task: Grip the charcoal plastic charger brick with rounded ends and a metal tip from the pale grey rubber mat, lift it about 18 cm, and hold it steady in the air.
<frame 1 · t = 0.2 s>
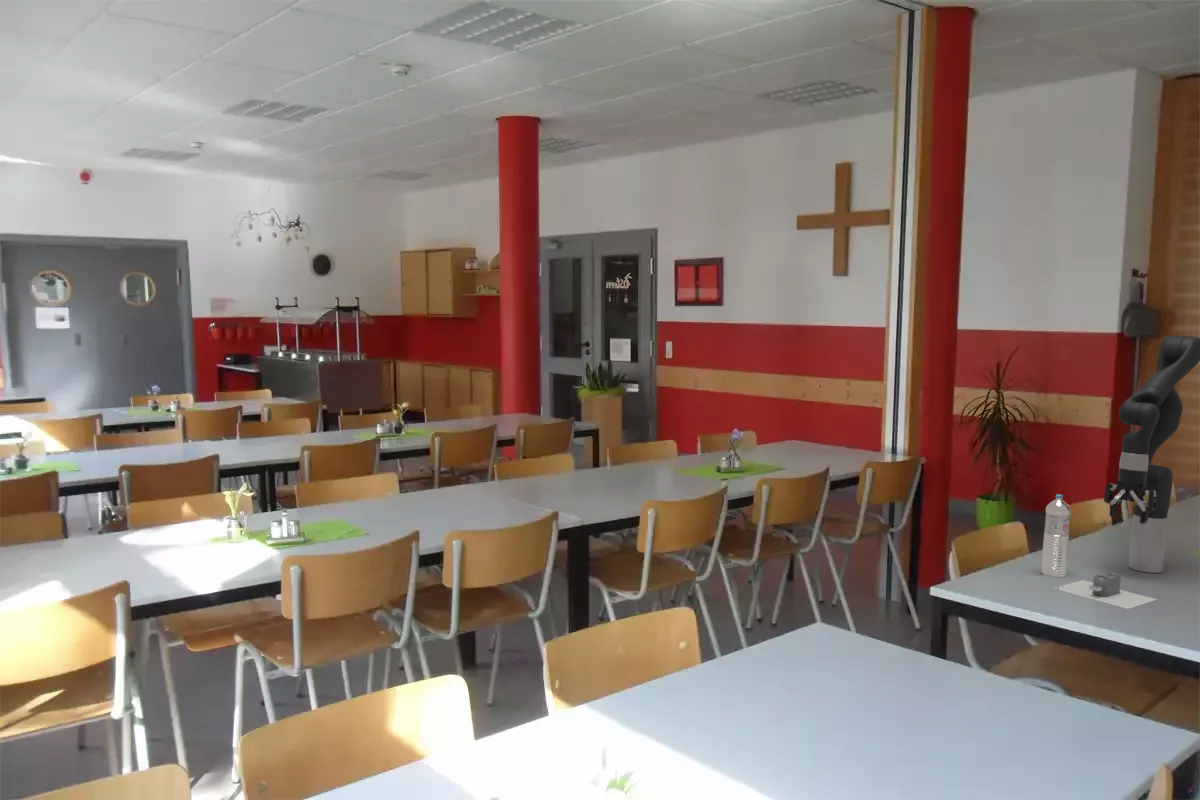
hand: (1127, 520, 280), 17 cm above the table, tool pointing down, fingers open, 8 cm apart
rubber mat: (1104, 595, 261), on the table
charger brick: (1106, 593, 262), point 1 cm above the table, touching rubber mat
water bottle: (1053, 576, 281), on the table
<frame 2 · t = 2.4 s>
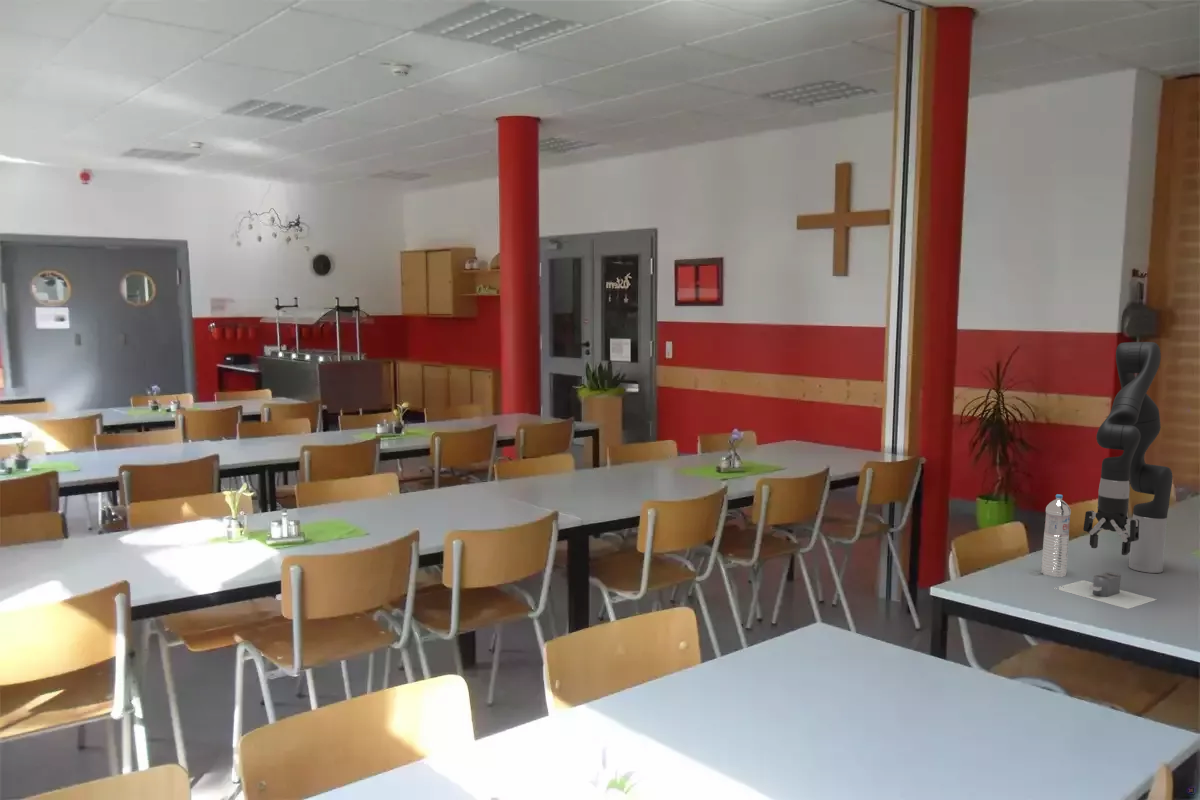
hand: (1109, 551, 260), 13 cm above the table, tool pointing down, fingers open, 8 cm apart
nothing on the table moved.
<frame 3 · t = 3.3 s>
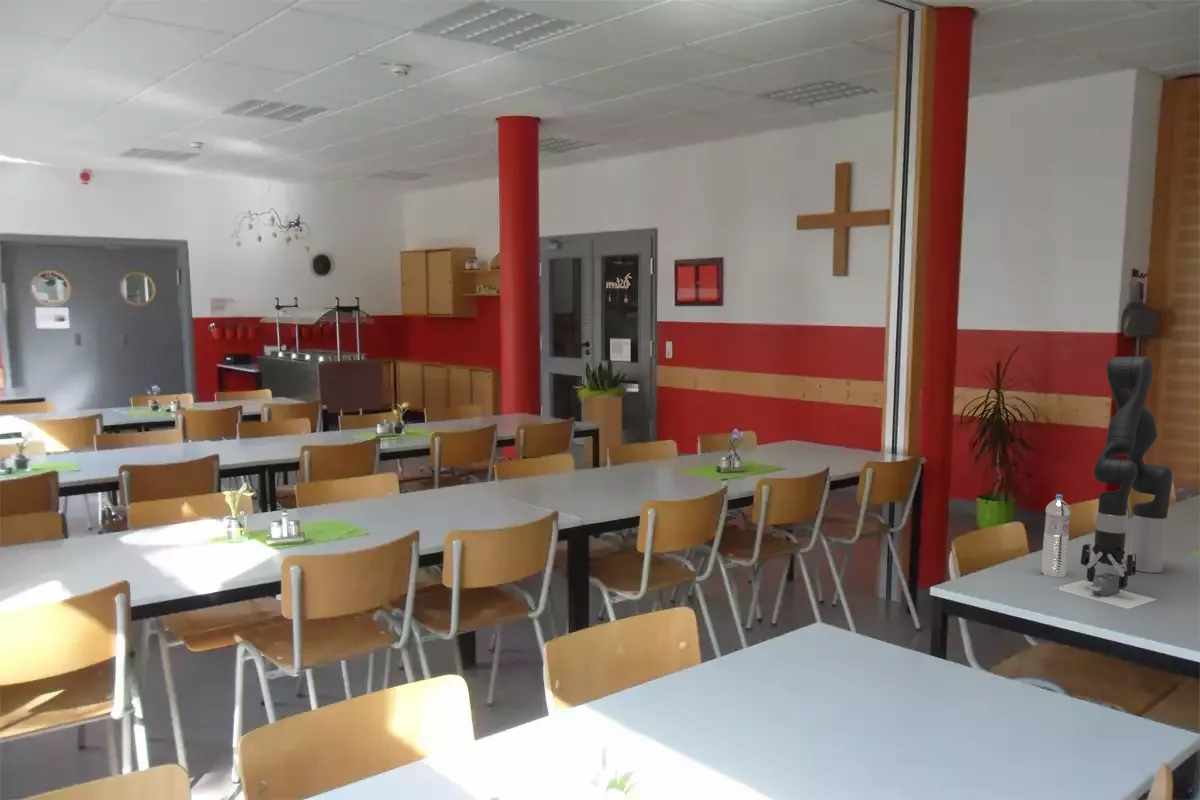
hand: (1106, 584, 261), 3 cm above the table, tool pointing down, fingers open, 8 cm apart
nothing on the table moved.
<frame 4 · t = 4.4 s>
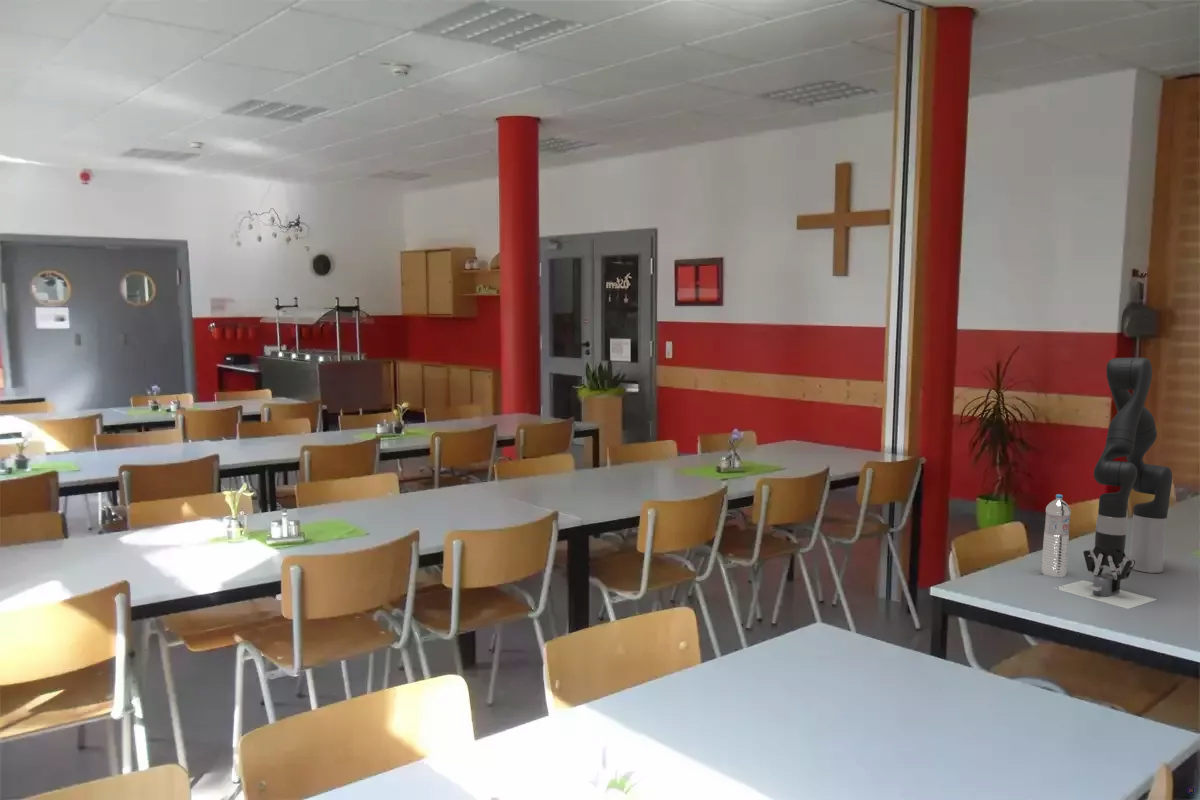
hand: (1106, 589, 262), 2 cm above the table, tool pointing down, fingers closed on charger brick, 4 cm apart
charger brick: (1106, 593, 262), point 1 cm above the table, touching gripper, rubber mat
everything else where it was.
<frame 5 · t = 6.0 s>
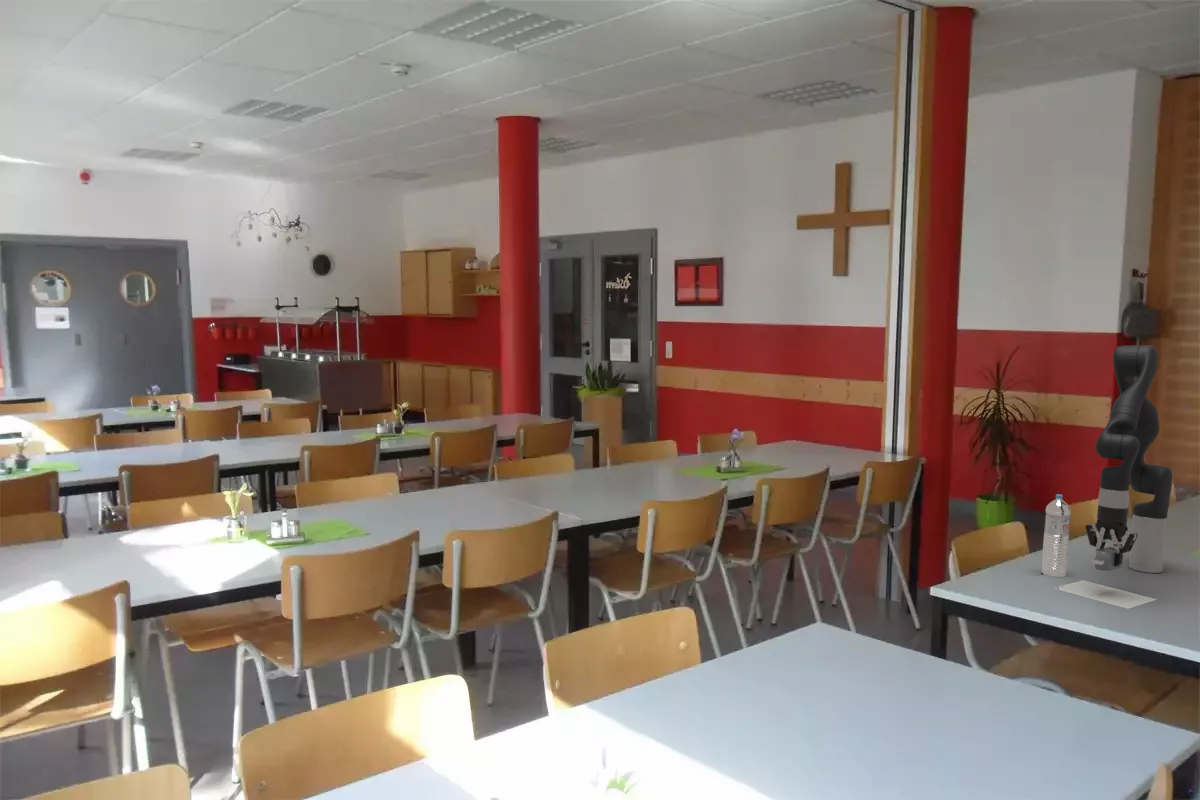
hand: (1108, 563, 261), 9 cm above the table, tool pointing down, fingers closed on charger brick, 4 cm apart
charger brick: (1108, 567, 261), point 8 cm above the table, touching gripper
everything else where it was.
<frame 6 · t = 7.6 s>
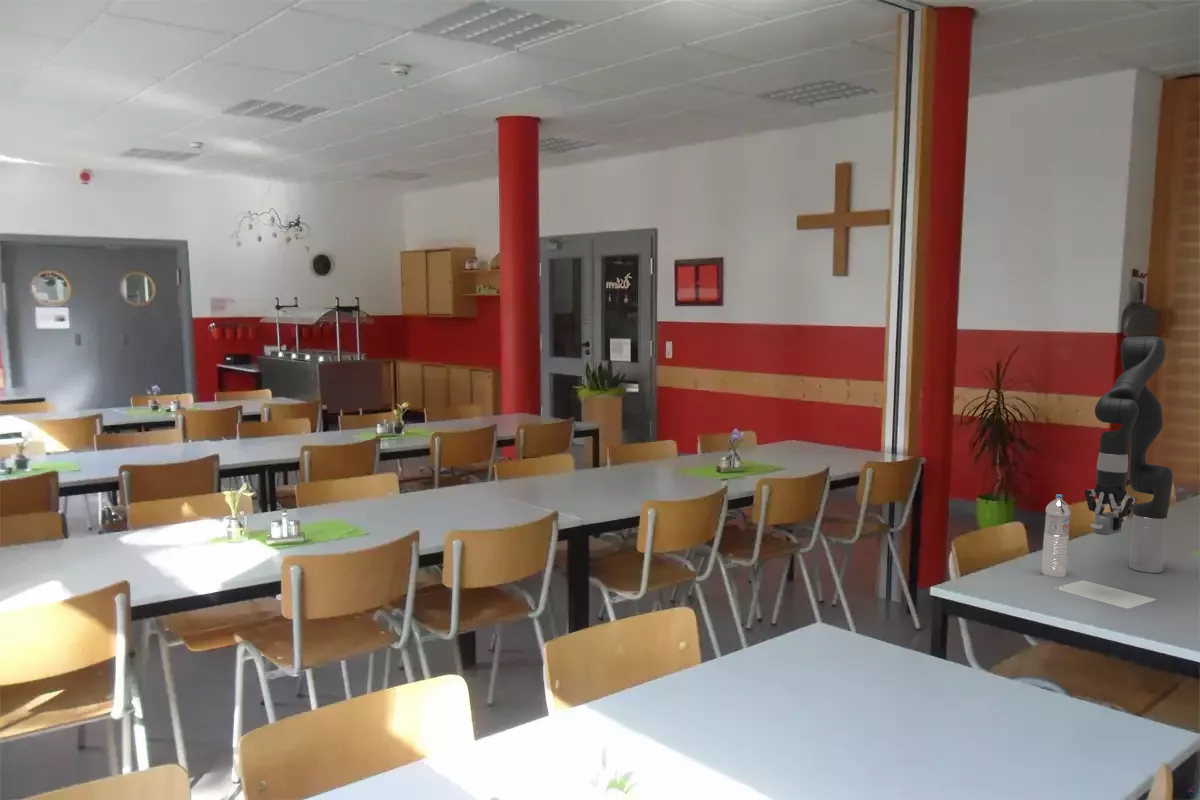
hand: (1107, 528, 261), 19 cm above the table, tool pointing down, fingers closed on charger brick, 4 cm apart
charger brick: (1107, 532, 261), point 18 cm above the table, touching gripper
everything else where it was.
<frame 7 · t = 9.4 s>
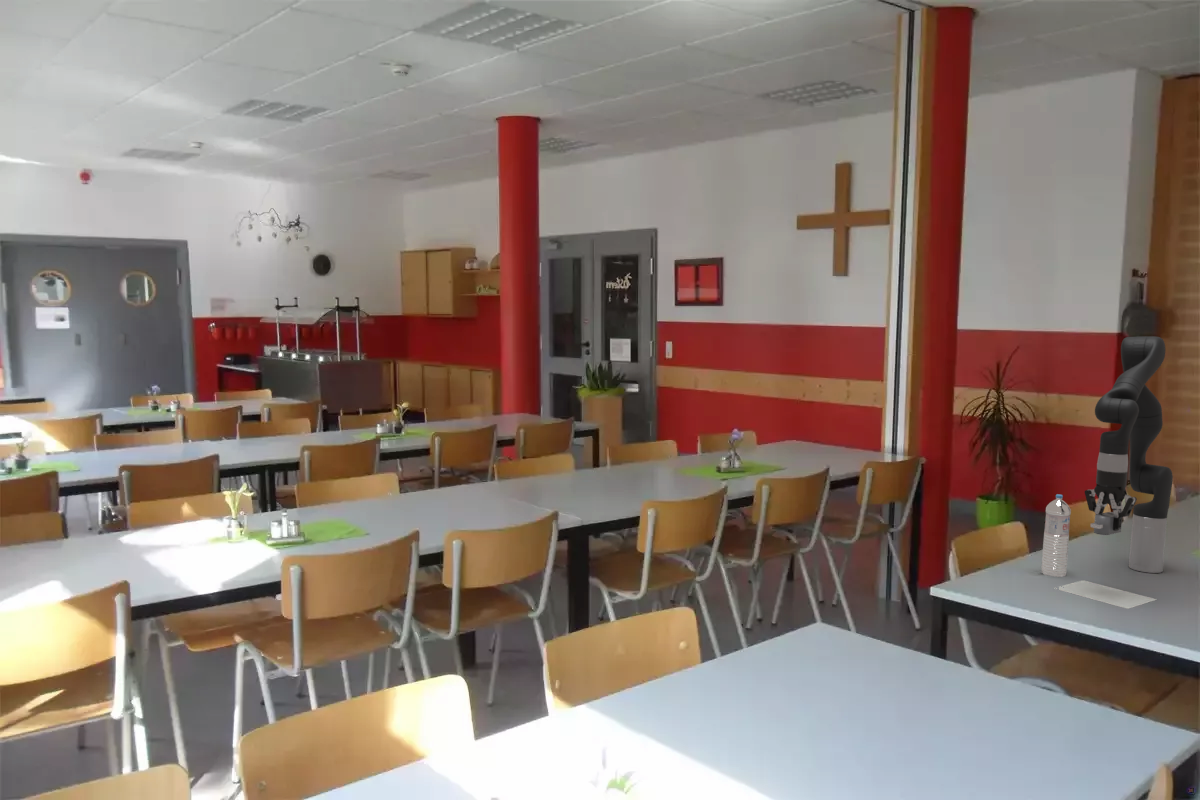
hand: (1107, 528, 261), 19 cm above the table, tool pointing down, fingers closed on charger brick, 4 cm apart
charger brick: (1107, 532, 261), point 18 cm above the table, touching gripper
everything else where it was.
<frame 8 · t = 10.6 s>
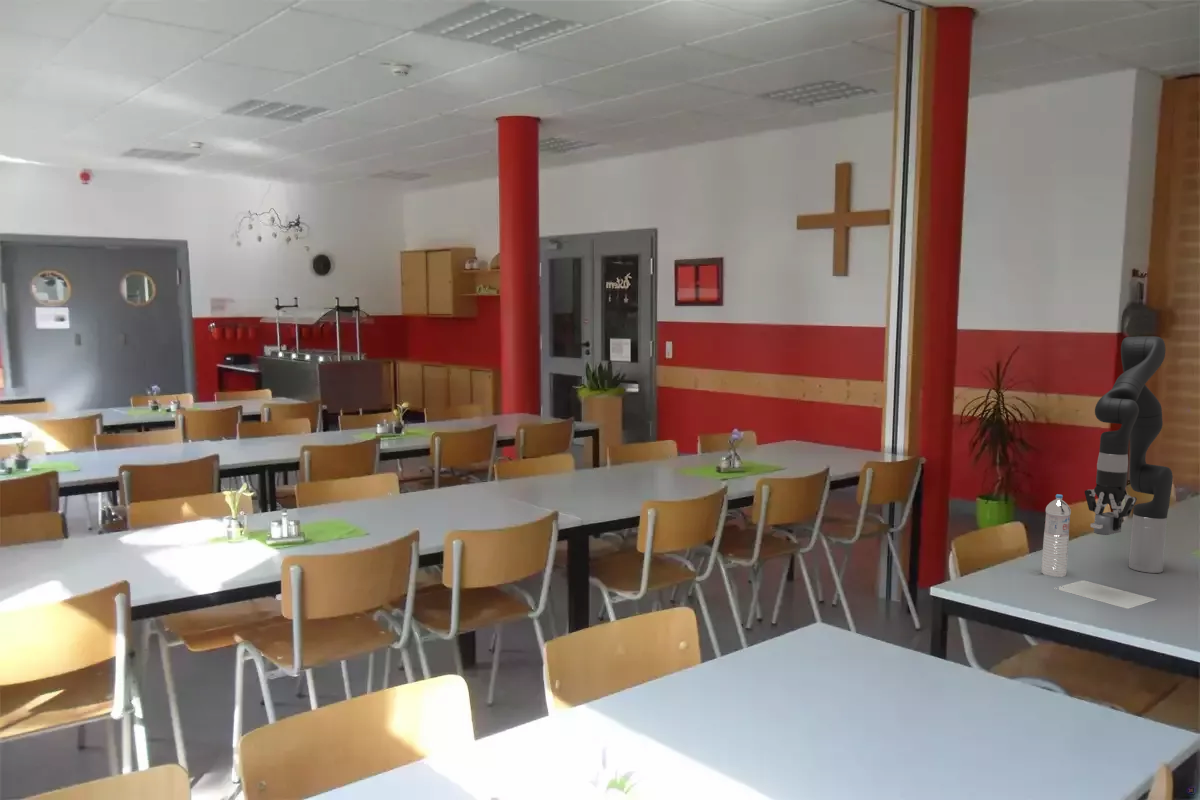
hand: (1107, 528, 261), 19 cm above the table, tool pointing down, fingers closed on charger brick, 4 cm apart
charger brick: (1107, 532, 261), point 18 cm above the table, touching gripper
everything else where it was.
at the end: the gripper is holding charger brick; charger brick point 18.2 cm above the table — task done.
